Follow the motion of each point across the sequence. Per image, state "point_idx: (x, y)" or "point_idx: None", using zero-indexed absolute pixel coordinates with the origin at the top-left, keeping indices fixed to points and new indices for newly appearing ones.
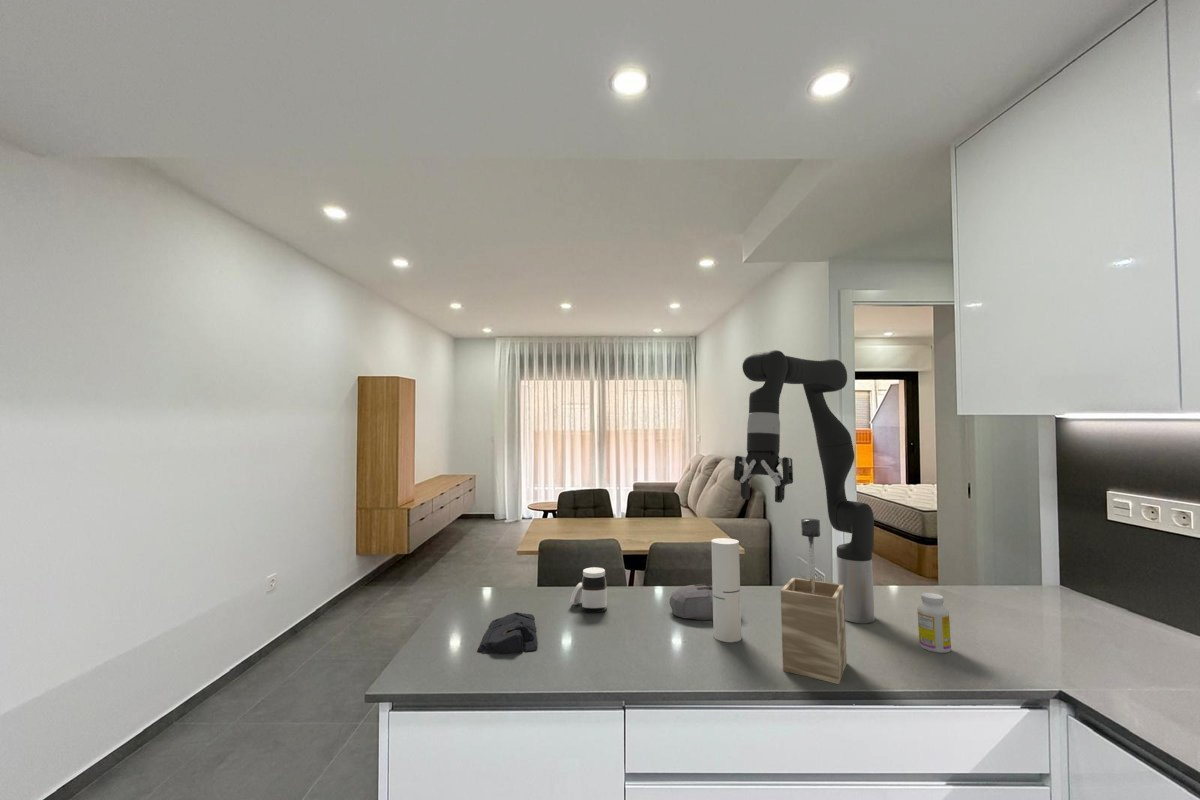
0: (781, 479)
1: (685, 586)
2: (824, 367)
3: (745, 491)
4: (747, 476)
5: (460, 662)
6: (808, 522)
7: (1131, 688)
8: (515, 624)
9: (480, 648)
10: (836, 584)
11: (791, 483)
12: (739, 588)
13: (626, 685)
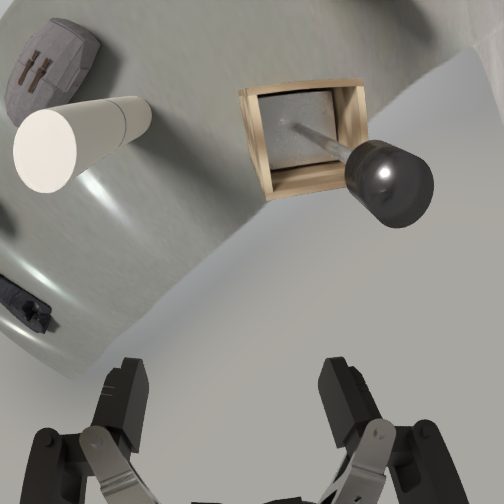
0: (378, 458)
1: (10, 94)
2: None
3: (142, 415)
4: (154, 496)
5: (52, 346)
6: (399, 225)
7: (495, 29)
8: (18, 312)
9: (38, 332)
10: (350, 84)
11: (424, 421)
12: (123, 118)
13: (147, 302)
